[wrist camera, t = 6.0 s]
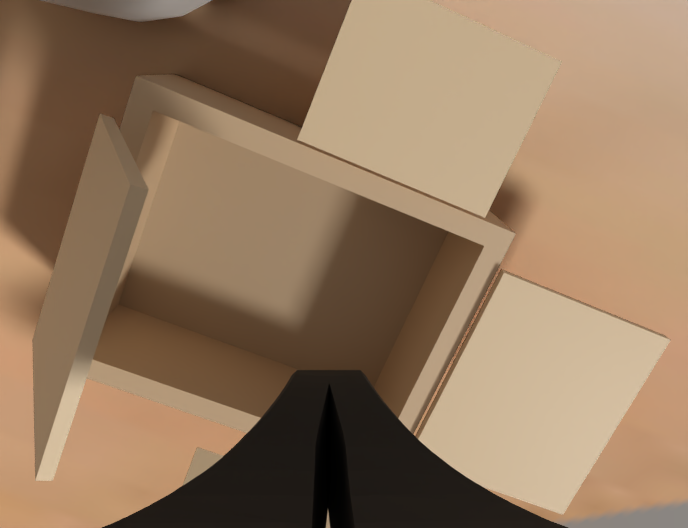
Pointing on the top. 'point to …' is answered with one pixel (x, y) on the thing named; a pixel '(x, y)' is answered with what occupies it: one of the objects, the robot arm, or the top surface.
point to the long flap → (83, 287)
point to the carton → (368, 256)
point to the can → (134, 8)
